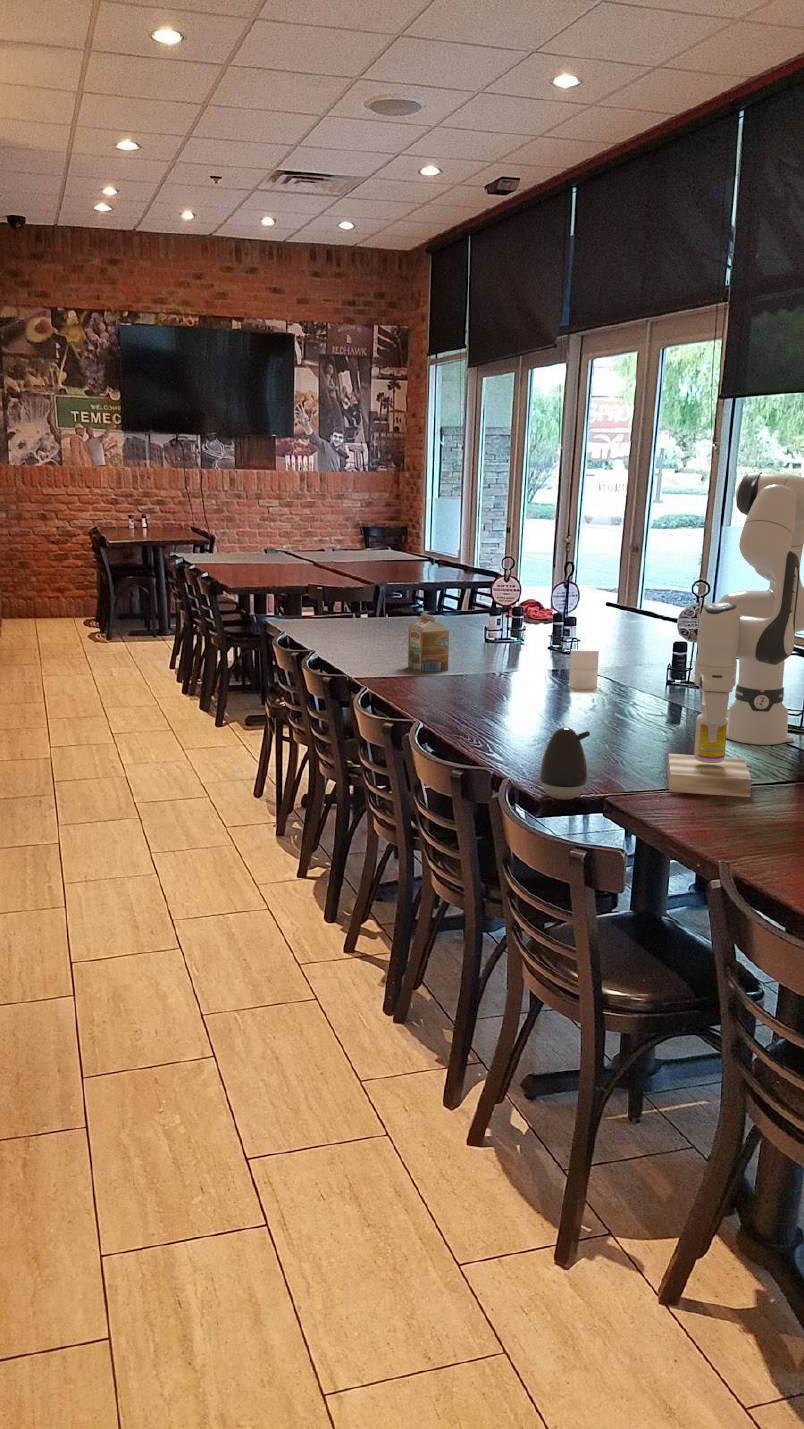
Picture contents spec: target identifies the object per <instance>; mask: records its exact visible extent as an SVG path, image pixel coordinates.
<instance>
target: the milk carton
mask: <svg viewBox="0 0 804 1429" xmlns="http://www.w3.org/2000/svg"><path fill="white" fill-rule="evenodd" d="M407 633H408V636H407V637H408V639H407V640H408V642H407V645H408V646H407V648H408V649H407V652H408V653H407V654H408V655H407V656H408V657H407V658H408V659H407V668H410V669H411V670H414V671H416V672H420V673H427V672H439V671H440V672H441V671H448V670H449V654H450V653H449V652H450V651H449V649H450V648H449V644H450V643H449V642H450V641H449V640H450V638H449V637H450V636H449V635H450V634H449V633H450V630H449V629H448V628H447V627H446V626H445V625H443V623H441V622H439V621H437V616H435V615H431V614H427V613H421V617H420V618H418V619H416V620H415V621H414V622H412V624H410V626H408V632H407Z"/></svg>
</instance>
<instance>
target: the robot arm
mask: <svg viewBox="0 0 804 1429" xmlns="http://www.w3.org/2000/svg"><path fill="white" fill-rule="evenodd" d="M735 492H736V493H735V501H736V508H737V510H738V511H739V512H740V513H741V514H743V515H745V516H746V518H745V520H744V524H743V527H742V531H741V534H740V538H739V546H738V547H739V551H740V554H741V556H742V558H743V559H744V560H745V561H746V563H748V565H750V566H751V567H752V568H754V571H755V572H756V573H757V574H758V575H759V576H760V577H762V578H763V579H764V580H767V581H769V588H768V589H767V590H741V591H735V592H731V593H725V594H724V595H723V596H721V598H720V599H719V601H718V602H717V601H716V602H711V603H708V604H706V605H704V607H702V609H701V613H700V616H699V620H698V628H697V636H696V646H697V654H696V655H697V656H696V659H695V664H694V666H695V667H694V677H693V678H694V679H693V683H694V685H696V686H698V687H699V689H698V690H699V692H700V693H702V697H701V704H702V703H705V712H704V716H705V721H706V725H707V726H708V742H710V743H715V742H716V740H717V733H718V728H719V727H723V725H724V722H725V718H726V719H727V730H726V740H727V739H728V740H732V741H734V742H739V743H743V744H748V745H749V744H750V745H761V746H763V745H764V746H766V745H769V746H771V745H779V744H783V743H788V742H794V741H795V740H794V737H795V736H793V735H792V734H790V733H788V729H789V728H788V727H789V726H788V724H789V709H788V708H787V707H786V706H785V705H784V703H783V702H784V696H785V688H784V686H783V684H784V674H785V673H784V672H785V661H786V660H787V659H788V658H789V657H790V656H791V655H792V653H793V652H794V648H795V641H796V640H795V639H796V638H795V637H796V636H795V635H796V633H798V632H803V631H804V586H803V584H802V581H801V574H800V570H801V568H800V567H801V561H802V555H803V549H804V477H803V476H799V475H793V474H787V475H786V474H779V473H763V472H761V471H758V472H755V471H753V472H748V473H747V474H746V475H744V476H743V477H742V479H741V481H740V482H739V484H738V486H737V488H736V491H735ZM737 659H738V663H737ZM737 667H738V680H736V678H737ZM736 681H738V683H737V684H736ZM734 687H735V693H734V694H735V695H734V696H735V701H734V702H733V703H732V704H731V705H730V706H728V705H729V701H730V700H729V699H730V693H732V692H733V690H734Z"/></svg>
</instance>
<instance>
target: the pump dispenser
mask: <svg viewBox="0 0 804 1429" xmlns="http://www.w3.org/2000/svg"><path fill="white" fill-rule="evenodd" d="M590 735H591V733H590V731H588V730H586V731H583V732H581V733H576V731H575V730H573V729H572V728H570V727H561V728H558V729H556V730H555V731H554V732H553V734H552V735H551V737H550V739H549V741H548V743H547V745H546V747H545V749H544V753H543V757H542V760H541V764H540V765H541V766H540V772H539V780H540V783H541V787H542V789H543V791H544V792H545V794H546V795H548V796H549V797H550V798H552V799H555V798H556V800H559V801H560V800H561V801H562V800H563V801H565V800H566V801H569V800H572V799H576V798H577V797H579V796H580V795H581V794H582V792H584V790H585V787H586V784H587V783H588V775H589V774H588V764H587V759H586V754H585V751H584V747H583V744H582V743H581V741H582V740H584V739H586V738H588V737H589V736H590Z"/></svg>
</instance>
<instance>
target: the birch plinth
mask: <svg viewBox="0 0 804 1429" xmlns="http://www.w3.org/2000/svg"><path fill="white" fill-rule="evenodd" d="M667 758H668V759H667V768H666V769H667V780H668V790H669V792H670V793H680V794H681V793H685V794H698V795H699V794H700V795H713V796H715V795H716V796H729V797H743V798H744V797H745V798H751V790H752V780H753V779H752V777H751V774H750V771H749V768H748V765H747V762H746V760H745V758H744V757H729V756H725V758H724V761H722V762H719V763H705V762H700V761H698V760H696V759H695V758H694V754H681V753H680V754H679V753H668V754H667Z"/></svg>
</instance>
